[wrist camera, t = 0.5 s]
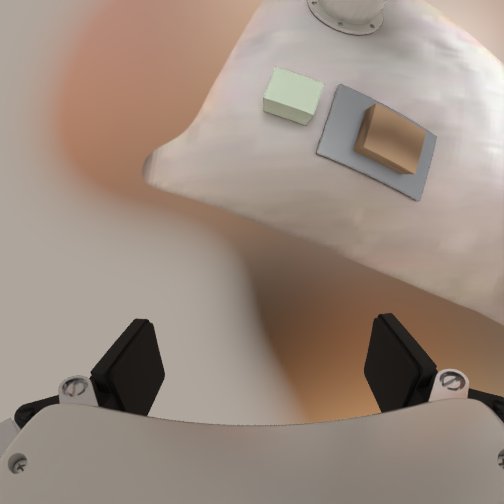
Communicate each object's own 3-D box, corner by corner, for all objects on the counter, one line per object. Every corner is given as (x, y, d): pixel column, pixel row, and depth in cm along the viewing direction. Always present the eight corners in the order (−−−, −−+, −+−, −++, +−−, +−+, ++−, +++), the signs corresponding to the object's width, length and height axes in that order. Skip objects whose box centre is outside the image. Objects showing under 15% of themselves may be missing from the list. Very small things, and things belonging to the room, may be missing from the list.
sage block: (273, 83, 32) (275, 66, 26) (315, 97, 32) (324, 83, 26) (263, 110, 33) (263, 97, 27) (305, 125, 33) (313, 114, 27)
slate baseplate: (338, 85, 31) (339, 83, 30) (433, 137, 32) (436, 136, 31) (315, 153, 34) (317, 152, 33) (416, 200, 35) (419, 201, 34)
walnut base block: (365, 109, 31) (376, 102, 27) (411, 135, 31) (426, 131, 27) (353, 150, 33) (363, 147, 29) (401, 174, 33) (415, 174, 29)
